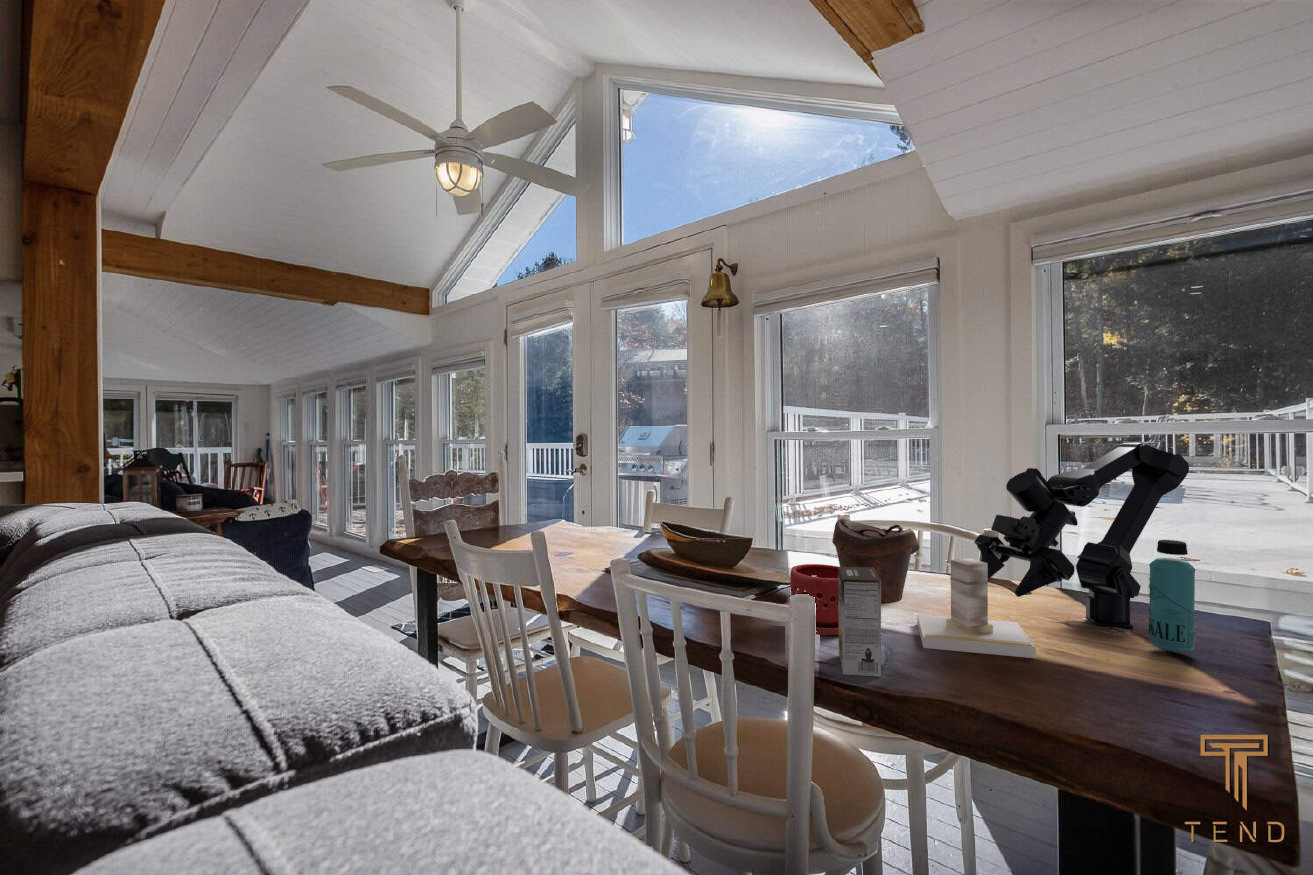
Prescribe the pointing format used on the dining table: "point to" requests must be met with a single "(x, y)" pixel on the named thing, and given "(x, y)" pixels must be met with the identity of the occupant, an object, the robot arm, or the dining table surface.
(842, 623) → the coffee box
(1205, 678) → the dining table surface
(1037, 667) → the dining table surface
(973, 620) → the white stepped pillar
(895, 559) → the brown tapered planter
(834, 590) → the plant pot
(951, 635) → the white rectangular slab
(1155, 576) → the beverage bottle
